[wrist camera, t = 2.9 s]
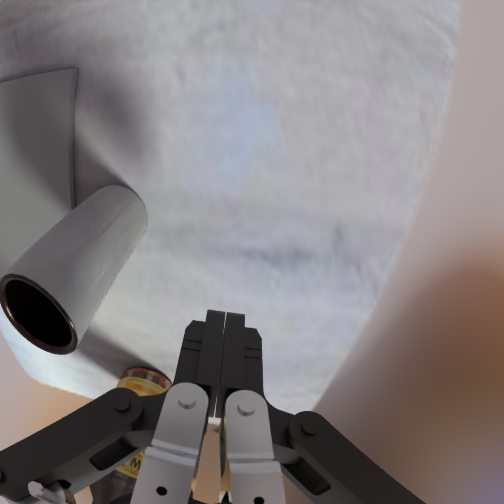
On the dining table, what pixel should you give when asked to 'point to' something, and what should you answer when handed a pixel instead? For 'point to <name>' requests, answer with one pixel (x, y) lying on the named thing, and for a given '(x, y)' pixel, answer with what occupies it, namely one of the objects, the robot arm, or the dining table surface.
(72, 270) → the grey hollow cylinder
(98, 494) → the sauce bottle
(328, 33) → the dining table surface
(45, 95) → the mat
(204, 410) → the robot arm
